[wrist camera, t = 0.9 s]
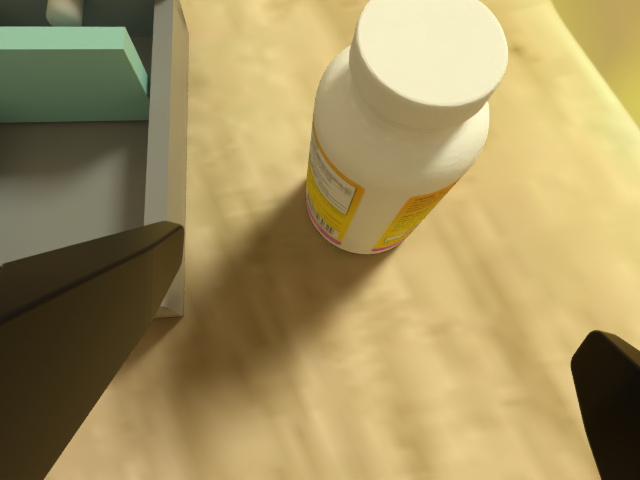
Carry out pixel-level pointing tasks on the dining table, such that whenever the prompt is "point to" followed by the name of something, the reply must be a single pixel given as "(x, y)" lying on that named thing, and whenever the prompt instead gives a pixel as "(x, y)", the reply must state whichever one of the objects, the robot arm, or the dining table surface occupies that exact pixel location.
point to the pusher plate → (71, 75)
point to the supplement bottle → (400, 118)
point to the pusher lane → (100, 144)
